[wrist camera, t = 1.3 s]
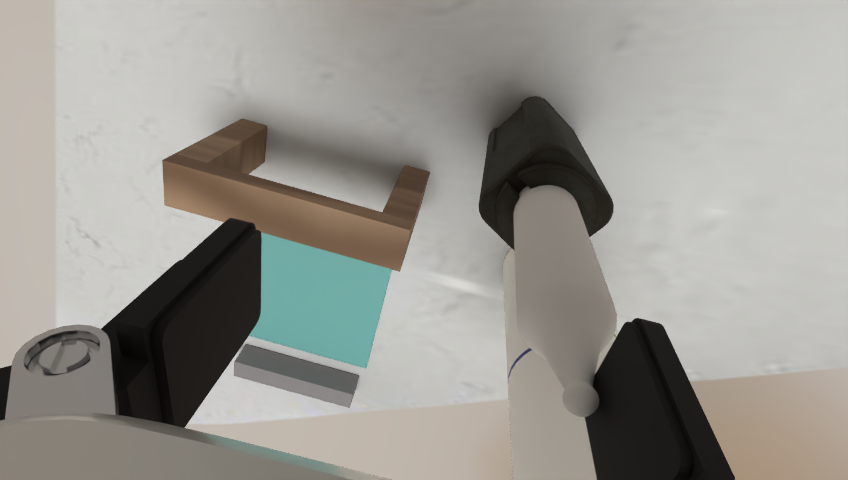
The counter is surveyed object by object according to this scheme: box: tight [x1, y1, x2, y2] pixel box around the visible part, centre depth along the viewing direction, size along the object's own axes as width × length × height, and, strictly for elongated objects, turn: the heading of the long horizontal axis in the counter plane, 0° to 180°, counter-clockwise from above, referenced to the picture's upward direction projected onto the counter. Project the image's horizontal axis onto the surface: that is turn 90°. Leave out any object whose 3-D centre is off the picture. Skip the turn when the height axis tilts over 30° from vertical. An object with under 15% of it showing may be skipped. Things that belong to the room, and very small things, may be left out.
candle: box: [479, 97, 617, 417], centre depth 22 cm, size 5×5×25 cm
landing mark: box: [249, 233, 391, 368], centre depth 42 cm, size 13×13×1 cm
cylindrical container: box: [503, 248, 618, 480], centre depth 27 cm, size 7×7×25 cm
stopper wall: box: [234, 344, 359, 408], centre depth 46 cm, size 2×12×2 cm, turn 76°
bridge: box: [162, 119, 430, 272], centre depth 31 cm, size 3×15×10 cm, turn 76°
